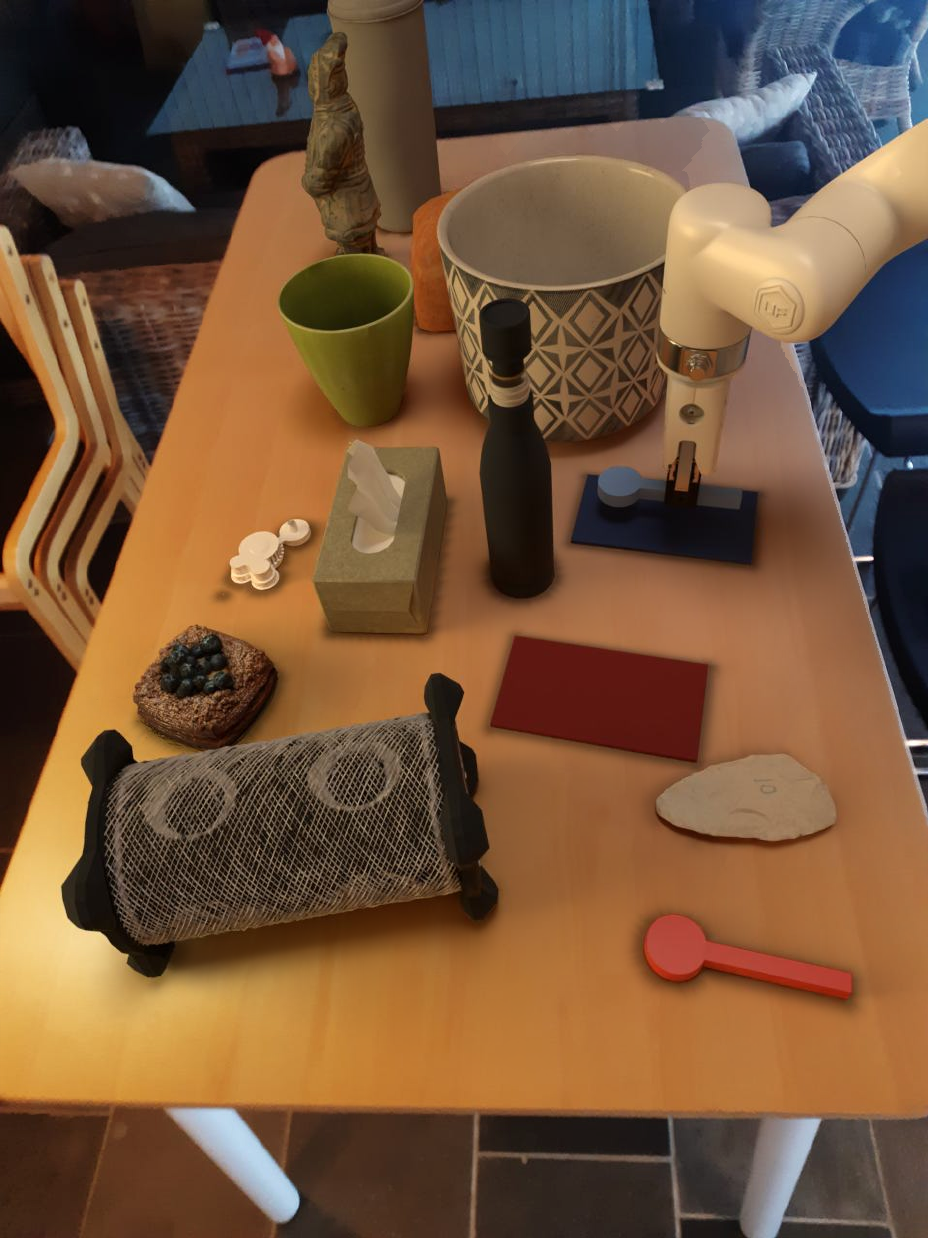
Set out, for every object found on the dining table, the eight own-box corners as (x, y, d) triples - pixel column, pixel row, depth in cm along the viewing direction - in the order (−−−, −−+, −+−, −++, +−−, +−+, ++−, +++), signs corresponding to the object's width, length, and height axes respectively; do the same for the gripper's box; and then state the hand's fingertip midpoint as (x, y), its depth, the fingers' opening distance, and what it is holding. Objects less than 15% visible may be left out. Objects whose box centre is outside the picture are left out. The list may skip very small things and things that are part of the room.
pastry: (226, 765, 79) (205, 732, 74) (126, 720, 83) (99, 685, 78) (294, 672, 84) (277, 635, 80) (196, 633, 89) (175, 597, 84)
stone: (842, 839, 69) (849, 828, 68) (666, 860, 70) (668, 849, 68) (810, 751, 74) (815, 739, 72) (646, 771, 74) (647, 759, 73)
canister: (445, 235, 131) (410, -48, 104) (362, 240, 133) (306, -38, 105) (452, 192, 139) (421, -82, 111) (373, 197, 140) (324, -71, 113)
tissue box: (361, 499, 98) (331, 383, 86) (448, 499, 97) (429, 381, 84) (329, 635, 87) (288, 523, 74) (426, 637, 85) (401, 524, 73)
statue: (332, 252, 131) (280, 23, 108) (394, 250, 130) (354, 17, 106) (317, 295, 125) (258, 60, 101) (382, 293, 123) (337, 54, 100)
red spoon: (846, 958, 64) (852, 951, 62) (846, 1021, 61) (852, 1016, 60) (648, 915, 67) (650, 908, 66) (640, 973, 64) (642, 967, 63)
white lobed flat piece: (303, 588, 91) (298, 575, 89) (222, 594, 92) (216, 581, 90) (312, 523, 97) (307, 509, 95) (236, 529, 97) (230, 515, 96)
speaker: (154, 811, 77) (77, 722, 65) (476, 755, 77) (458, 656, 65) (138, 989, 67) (45, 923, 56) (505, 925, 68) (489, 845, 56)
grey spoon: (741, 489, 89) (743, 477, 88) (738, 520, 87) (740, 509, 85) (601, 475, 92) (601, 463, 91) (594, 504, 90) (594, 493, 89)
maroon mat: (707, 666, 80) (708, 664, 80) (696, 762, 74) (697, 760, 74) (515, 637, 84) (514, 635, 84) (490, 726, 79) (490, 724, 78)
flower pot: (455, 390, 108) (440, 271, 96) (384, 464, 101) (357, 345, 89) (360, 358, 114) (334, 241, 102) (287, 425, 107) (249, 309, 95)
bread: (667, 308, 114) (678, 189, 102) (417, 339, 116) (398, 225, 103) (646, 252, 123) (654, 136, 111) (414, 282, 124) (396, 170, 112)
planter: (630, 491, 95) (642, 310, 78) (420, 434, 104) (390, 261, 87) (706, 351, 108) (731, 171, 91) (514, 312, 117) (504, 141, 100)
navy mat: (757, 494, 93) (758, 491, 92) (751, 564, 87) (751, 562, 87) (587, 476, 97) (587, 473, 97) (570, 542, 91) (570, 540, 91)
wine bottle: (485, 594, 88) (452, 335, 64) (498, 547, 92) (471, 286, 68) (548, 601, 87) (539, 339, 63) (559, 553, 90) (554, 289, 67)
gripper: (742, 404, 69) (712, 559, 84) (754, 292, 78) (725, 449, 93) (645, 396, 71) (632, 549, 85) (668, 287, 80) (653, 442, 94)
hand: (681, 496), depth 89 cm, fingers closed on grey spoon, 1 cm apart
